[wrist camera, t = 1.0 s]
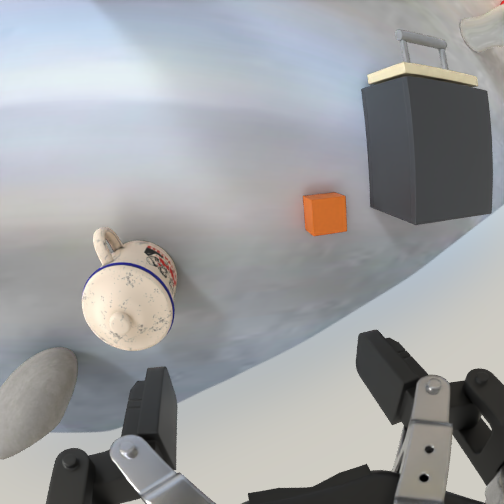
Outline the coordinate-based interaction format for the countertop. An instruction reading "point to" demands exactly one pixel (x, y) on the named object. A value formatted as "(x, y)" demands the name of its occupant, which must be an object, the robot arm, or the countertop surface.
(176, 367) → the countertop surface
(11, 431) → the planter
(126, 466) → the robot arm
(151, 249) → the teacup with lid
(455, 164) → the dark grey cabinet box
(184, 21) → the countertop surface
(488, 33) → the chrome metal cylinder
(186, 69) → the countertop surface
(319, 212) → the orange matte cube
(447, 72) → the drawer
